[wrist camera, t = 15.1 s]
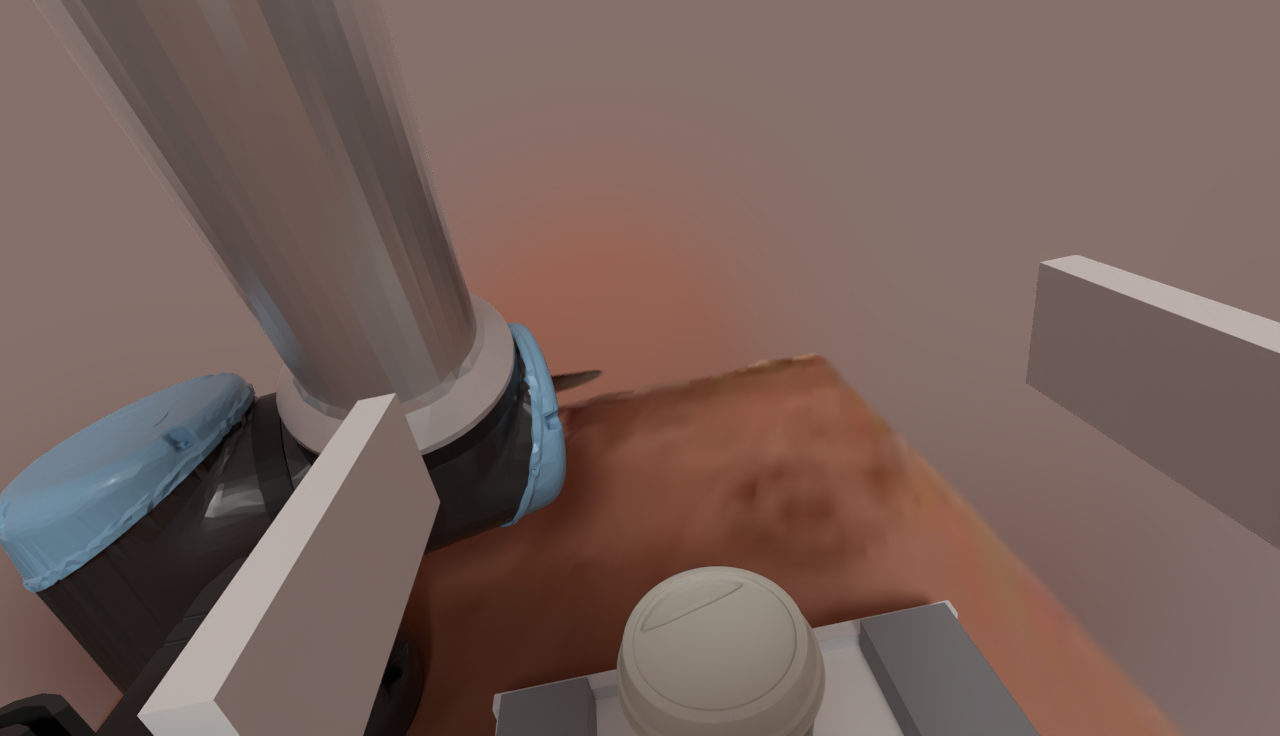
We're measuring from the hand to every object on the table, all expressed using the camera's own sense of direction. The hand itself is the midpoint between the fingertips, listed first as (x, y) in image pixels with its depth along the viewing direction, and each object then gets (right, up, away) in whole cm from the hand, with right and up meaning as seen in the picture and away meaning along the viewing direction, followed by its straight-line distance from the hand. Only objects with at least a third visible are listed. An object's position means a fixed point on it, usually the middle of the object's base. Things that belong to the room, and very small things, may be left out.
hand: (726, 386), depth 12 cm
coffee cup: (+3, -21, +17) cm, 27 cm away
